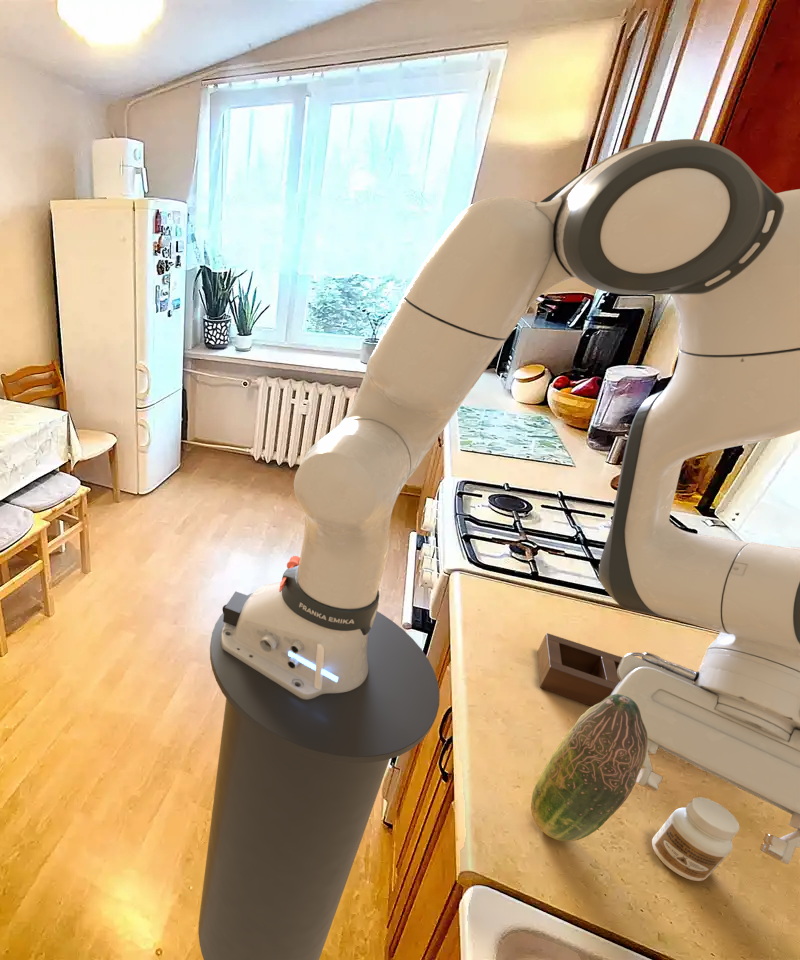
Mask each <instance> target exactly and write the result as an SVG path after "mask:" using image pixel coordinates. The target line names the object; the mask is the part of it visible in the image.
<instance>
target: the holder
mask: <svg viewBox="0 0 800 960" xmlns="http://www.w3.org/2000/svg"><path fill="white" fill-rule="evenodd" d="M536 655H537V667H538V678H539V679H538V681H539V688H540V689H543V690H545V691H548V692H551V693H553V694H556V695H559V696H562V697H565V698H567V699H571V700H573V701H576V702H578V703H581V704H584V705H587V706H590V707H592V706H594V705H596V704H598V703H600V702H601V701H603V700H604V699H605V698H607V697H608V696H610V695H611V693H612V692H613V690H614V689H615V687H616V686H617V685H618V683H619V682H620V680H619V678H618V675H617V668H618V666H619V664H620V662H621V659H622V658H623V657H624V656H623V657H622V656H620V655H616V654H613V653H610V652H607V651H604V650H600V649H598V648H594V647H592V646H589V645H585V644H583V643H579V642H576V641H573V640H570V639H567V638H564V637H561V636H557V635H554V634H551V633H549V632H546V633H545V635H544V637H543V639H542V641H541V642H540V645H539V647H538V650H537V652H536Z"/></svg>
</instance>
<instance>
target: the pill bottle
mask: <svg viewBox="0 0 800 960" xmlns="http://www.w3.org/2000/svg"><path fill="white" fill-rule="evenodd" d="M740 829H741V828H740V823H739V821H738V819H737V818H736V817H735V816H734V814H733V813H732V812H730V810H728V809H727V808H726V807H725V806H723V805H721V804H720V803H718V802H716V801H714V800H712V799H710V798H706V797H702V796H699V797H698V796H696V797H693V798H692V799H691V800H690V801H689V803H688V804H687V805H686V807H679V808H677V809H675V810H674V811H673V812H672V813H671V814H670V815H669V817H668V818H667V819H666V820H665V822H664V823H663V824H662V826H661V827H660V828H659V830H658V831H656V833H655V835H653V838H652V839H651V845H652V849H653V851H654V853H655V855H656V856H657V857H658V859H659V860H660V861H661V862H662V864H664V866H666V867H667V868H668V869H670V870H671V871H672V872H674V873H675V874H677V875H679V876H680V877H683V878H685V879H687V880H690V881H695V882H702V881H704V880H706V879H707V878H708V877H709V876H710V875H711V874H712V873H713V872H714V871H715V870H716V869H717V867H718V866H720V864H722V862H723V861H724V860H725V859H726V858H727V857H728V856H729V855H730V854H731V852H732V851H733V848H734V847H733V844H734V843H733V841H732V840H733V838H735V837H736V835H737V834H738V832H739V831H740Z"/></svg>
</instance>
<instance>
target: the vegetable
mask: <svg viewBox="0 0 800 960" xmlns="http://www.w3.org/2000/svg"><path fill="white" fill-rule="evenodd" d="M647 744H648V736H647V731H646V728H645V725H644V723H643V720H642V718H641V713H640V710H639V708H638V706H637V704H636V703H635V702H634V701H633V700H632V699H630V698H629V697H627V696H624V695H621V694H614V695H610V696H608V697H607V698H605V699H604V700H603V701H601V702H600V703H598V704H596V705H594V706H590V707H589V708H588V709H587V710H585V712H584V713H583V714H581V715H580V716H579V717H578V719H577V720H576V721H575V723H574V725H573V726H572V727H571V728H570V729H569V731H567V734H565V736H564V737H563V739H562V740H561V741H560V743H559V744H558V746H557V747H556V749H555V750H554V752H553V753H552V754H551V757H550V758H549V760H548V761H547V763H546V765H545V767H544V769H542V772H541V775H540V776H539V778H538V779H537V781H536V783H535V785H534V788H533V791H532V794H531V801H530V812H531V815H532V818H533V819H534V822H535V823H536V825H537V826H538V829H540V830H541V832H542V833H544V834H545V835H546V836H547V837H549V838H551V839H554V840H556V841H560V842H576V841H579V840H582V839H584V838H586V837H589V836H590V835H592V834H593V833H595V832H596V831H597V830H599V829H600V828H601V827H602V826H603V825H604V824H605V823H606V822H607V821H608V820H609V819H610V817H611V816H613V815H614V814H615V813H616V812H617V811H618V809H619V808H620V807H622V805H624V803H625V802H626V801H627V799H628V798H629V797H630V794H631V792H632V790H633V789H634V787H635V785H636V784H637V783H636V780H637V777H638V774H639V772H640V770H641V768H642V765H643V763H644V761H645V757H646V752H647Z"/></svg>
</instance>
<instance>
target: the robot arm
mask: <svg viewBox="0 0 800 960" xmlns="http://www.w3.org/2000/svg"><path fill="white" fill-rule="evenodd" d="M572 278H575V279H576V280H577V279H578V280H579V281H581V282H583V283H584V284H587V285H588V286H590V287H592V288H594V289H597V290H599V291H602V292H606V293H609V294H610V293H611V294H617V295H627V296H628V295H629V296H645V295H671V297H672V299H673V301H674V304H675V308H676V313H677V314H678V354H677V355H678V356H677V357H678V358H677V362H676V367H675V370H674V373H673V375H672V377H671V379H670V381H669V382H668V384H667V386H666V387H665V388H664V390H661V391H658V392H656V393H653V394H651V395H650V396H648V397H647V398H646V399H644V401H643V402H642V403H641V405H640V407H639V408H638V409H637V411H636V413H635V416H634V418H633V419H632V423H631V425H630V428H629V432H628V434H627V440H626V444H625V448H624V451H623V457H622V462H621V468H620V472H619V473H620V474H619V478H618V483H617V490H616V494H615V495H616V496H615V501H614V502H615V503H614V507H613V513H612V516H611V517H612V518H611V523H610V524H611V525H610V528H609V531H608V535H607V538H606V540H605V541H606V542H605V544H604V547H603V550H602V553H601V557H600V560H599V566H598V573H597V574H598V581H599V582H600V583H601V586H602V587H603V589H604V590H605V591H606V593H608V595H609V596H610V598H612V599H613V601H615V603H617V604H618V606H620V607H621V608H622V609H624V610H627V611H630V612H631V611H632V612H637V613H640V614H641V613H642V614H646V615H651V616H656V617H660V618H668V619H669V618H670V619H673V620H677V621H679V622H684V623H687V624H690V625H693V626H698V627H701V628H705V629H708V630H713V631H716V632H719V633H718V635H717V636H716V638H715V639H714V640H713V641H712V642H711V643H710V644H709V645H708V647H707V648H706V651H705V654H704V655H703V658H702V660H701V662H700V664H699V667H698V669H697V671H695V670H694V669H690V668H688V667H685V666H682V665H680V664H678V663H675V662H672V661H668V660H666V659H664V658H662V657H660V656H658V655H657V654H654V653H652V652H648V651H645V652H643V653H642V652H639V651H638V652H629V653H626V654H625V655H623V658H622V659H621V662H620V664H619V666H618V668H617V675H618V678H619V680H620V682H619V683H618V685H617V686H616V687H615V689H614V690H613V692H612V693H611V695H614V694H621V695H624V696H627V697H629V698H630V699H632V700H633V701H634V702H635V703H636V704H637V706H638V708H639V710H640V713H641V718H642V720H643V723H644V725H645V728H646V731H647V736H648V744H647V752H646V757H645V761H644V763H643V765H642V768H641V770H640V772H639V774H638V777H637V780H636V783H635V784H637V785H639V786H641V787H643V788H644V789H646V790H648V791H650V792H652V793H655V794H656V793H657V792H658V790H659V788H660V786H659V784H661V783H662V780H663V776H661V775H659V774H657V773H656V772H654V768H653V765H652V762H651V757H650V755H655V754H657V752H658V749H660V750H661V751H664V752H665V753H668V754H669V755H672V756H674V757H676V758H677V759H680V760H682V761H684V762H686V763H688V764H691V765H692V766H694V767H696V768H697V769H700V770H702V771H704V772H706V773H708V774H710V775H712V776H714V777H716V778H718V779H719V780H722V781H724V782H726V783H728V784H730V785H732V786H734V787H736V788H738V789H740V790H742V791H744V792H745V793H748V794H750V795H752V796H753V797H756V798H758V799H760V800H762V801H764V802H766V803H768V804H770V805H772V806H774V807H776V808H777V809H780V810H781V811H784V812H786V813H788V814H790V815H791V817H790V820H789V822H788V825H789V827H791V828H793V829H794V830H795V831H792V832H790V833H787V834H785V835H783V836H781V837H778V836H776V835H775V834H770V833H765V834H764V835H763V836H764V837H763V839H762V840H763V843H761V844H760V847H759V848H760V849H759V850H760V851H761V852H762V853H764V854H766V855H767V856H769V857H771V858H772V859H775V860H777V861H778V862H780V863H782V864H785V865H788V864H790V863H791V861H792V858H793V855H794V853H795V851H796V848H800V547H795V546H779V545H774V544H773V545H772V544H769V543H768V544H767V543H760V542H756V541H755V542H754V541H752V542H750V541H744V540H737V539H732V538H724V537H718V536H712V535H706V534H701V533H700V534H699V533H694V532H689V531H686V530H683V529H681V528H679V527H677V526H676V525H674V524H673V523H672V522H671V521H670V517H671V512H672V507H673V504H674V499H675V495H676V492H677V487H678V482H679V480H680V479H679V478H680V475H681V470H682V466H683V464H684V462H685V461H686V460H688V459H691V458H694V457H697V456H699V455H704V454H707V453H711V452H716V451H721V450H724V449H729V448H734V447H739V446H740V447H741V446H745V445H750V444H751V445H752V444H756V443H761V442H766V441H770V440H775V439H777V438H782V437H785V436H788V435H791V434H794V433H797V432H799V431H800V188H798V189H791V190H785V191H781V192H776V193H775V192H774V190H773V189H771V188H770V186H768V185H767V184H766V183H765V182H764V181H763V180H762V179H761V178H760V177H759V176H758V175H757V174H756V172H754V171H753V169H752V168H751V167H750V166H749V165H748V164H747V163H746V162H745V161H744V160H743V159H742V158H741V157H740V156H738V155H737V154H736V153H734V152H733V151H731V149H728V148H727V147H724V146H722V145H720V144H717V143H714V142H711V141H708V140H704V139H703V140H702V139H694V138H680V139H671V140H656V141H648V142H643V143H639V144H636V145H633V146H629V147H627V148H624V149H621V150H620V151H617V152H616V153H614V154H611V155H609V156H607V157H606V158H605V159H602V160H600V161H598V162H596V163H595V164H593V165H591V166H590V167H588V168H586V169H585V170H583V171H581V172H580V173H579V174H578V175H576V176H575V177H573V178H572V179H571V180H569V181H568V182H567V183H565V184H564V185H563V186H561V187H560V188H558V189H557V190H555V191H553V192H552V193H551V194H550V195H548V196H546V197H545V198H544V199H542V200H541V201H539V202H538V201H532V200H529V199H525V198H521V197H517V196H516V197H515V196H493V197H488V198H484V199H481V200H478V201H476V202H473V203H472V204H470V205H469V206H467V207H466V208H465V209H464V210H462V211H461V212H460V214H458V216H456V218H455V220H454V221H453V222H452V223H451V225H450V226H449V227H448V228H447V230H445V232H444V234H443V235H442V236H441V238H440V239H439V240H438V242H436V244H435V245H434V247H433V248H432V250H431V251H430V253H429V254H428V256H427V257H426V258H425V260H424V261H423V262H422V264H421V266H420V268H419V269H418V271H417V272H416V273H415V275H414V277H413V279H412V280H411V282H410V284H409V286H408V287H407V289H406V291H405V293H404V294H403V296H402V298H401V300H400V301H399V303H398V306H397V307H396V309H395V311H394V313H393V314H392V316H391V317H390V320H389V321H388V323H387V325H386V327H385V329H384V330H383V333H382V334H381V336H380V338H379V339H378V342H377V344H376V346H375V347H374V349H373V351H372V353H371V355H370V356H369V358H368V361H367V363H366V368H365V373H364V376H363V378H362V381H361V384H360V386H359V389H358V391H357V394H356V396H355V398H354V400H353V403H352V405H351V407H350V408H349V410H348V412H347V413H346V415H345V416H344V418H342V419H341V421H340V422H339V423H338V424H337V426H335V427H334V428H333V429H332V430H331V431H329V432H328V433H326V434H325V435H324V436H322V437H321V438H320V439H318V441H316V442H315V443H314V444H313V445H312V446H311V447H310V448H309V450H307V452H306V454H305V455H304V457H303V459H302V460H301V462H300V464H299V467H298V468H297V470H296V472H295V476H294V479H293V491H294V497H295V499H296V502H297V504H298V506H299V507H300V509H301V511H302V512H303V523H304V525H303V527H304V528H303V538H302V545H301V549H300V554H299V555H300V556H298V555H293V556H291V557H290V558H289V561H288V562H287V563H286V570H284V572H283V574H282V578H281V581H277V582H273V583H272V582H271V583H267V584H263V585H261V586H259V587H258V588H257V589H256V590H254V591H253V592H251V593H252V595H251V596H248V595H249V594H245V593H241V592H239V591H234V593H233V594H232V596H231V597H230V599H229V600H228V602H227V603H226V604H224V605H223V606H222V609H221V610H222V613H224V618H223V622H225V624H224V627H223V630H222V634H221V645H222V648H223V649H224V650H225V651H226V652H228V653H230V654H231V655H233V656H234V657H236V658H238V659H239V660H241V661H242V662H244V663H245V664H247V665H249V666H250V667H252V668H253V669H255V670H257V671H258V672H260V673H261V674H263V675H265V676H266V677H268V678H269V679H271V680H272V681H274V682H276V683H277V684H279V685H280V686H282V687H284V688H285V689H287V690H288V691H290V692H292V693H293V694H295V695H296V696H298V697H300V698H302V699H306V700H308V699H312V698H315V697H317V696H319V695H321V694H328V693H343V692H348V691H351V690H353V689H355V688H357V687H359V686H360V685H361V684H362V683H363V682H364V681H365V679H366V677H367V675H368V661H367V642H368V633H369V631H370V629H371V628H372V626H373V623H374V619H375V616H376V612H377V611H378V608H379V605H380V603H379V601H380V590H379V588H380V584H381V580H382V577H383V574H384V571H385V566H386V562H387V558H388V555H389V551H390V544H389V533H390V525H391V520H392V519H391V518H392V514H393V510H394V507H395V504H396V501H397V499H398V497H399V495H400V493H401V491H402V489H403V487H404V486H405V485H406V483H407V482H408V481H409V480H410V478H411V477H412V475H413V474H414V472H415V471H416V470H417V468H418V467H419V466H420V464H421V463H422V461H423V460H424V459H425V457H426V455H427V454H428V453H429V451H430V450H431V448H432V447H433V445H435V442H436V441H437V439H439V437H440V436H441V434H442V433H443V431H444V430H445V428H446V426H447V425H448V424H449V423H450V421H451V419H452V418H453V416H454V415H455V414H456V412H457V411H458V410H459V408H460V406H461V405H462V404H463V402H464V401H465V399H466V398H467V396H468V395H469V394H470V392H471V391H472V389H473V388H474V387H475V385H476V384H477V382H478V381H479V379H480V378H481V376H483V374H484V372H485V371H486V370H487V368H488V366H489V365H490V364H491V362H492V361H493V359H494V358H495V357H496V355H497V354H498V352H499V351H500V350H501V348H502V347H503V345H504V344H505V343H506V341H507V340H508V339H509V337H510V335H511V334H512V332H514V330H515V328H516V327H517V325H518V323H520V320H521V319H522V317H523V315H524V314H525V313H526V311H527V310H528V308H530V307H531V306H532V305H533V304H534V303H535V301H536V300H537V299H538V298H539V297H540V296H542V295H543V294H544V293H545V292H547V291H548V290H549V289H551V288H552V287H554V286H555V285H557V284H559V283H561V282H564V281H567V280H570V279H572ZM640 657H641V658H640ZM297 686H299V687H297Z"/></svg>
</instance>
